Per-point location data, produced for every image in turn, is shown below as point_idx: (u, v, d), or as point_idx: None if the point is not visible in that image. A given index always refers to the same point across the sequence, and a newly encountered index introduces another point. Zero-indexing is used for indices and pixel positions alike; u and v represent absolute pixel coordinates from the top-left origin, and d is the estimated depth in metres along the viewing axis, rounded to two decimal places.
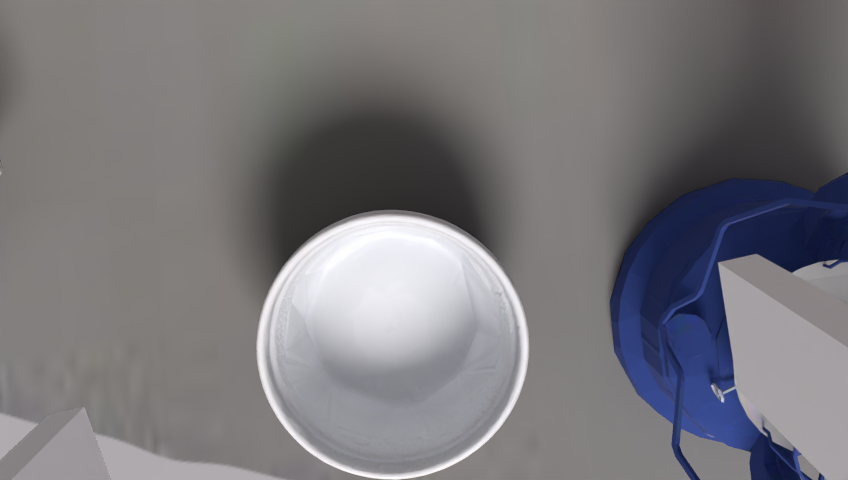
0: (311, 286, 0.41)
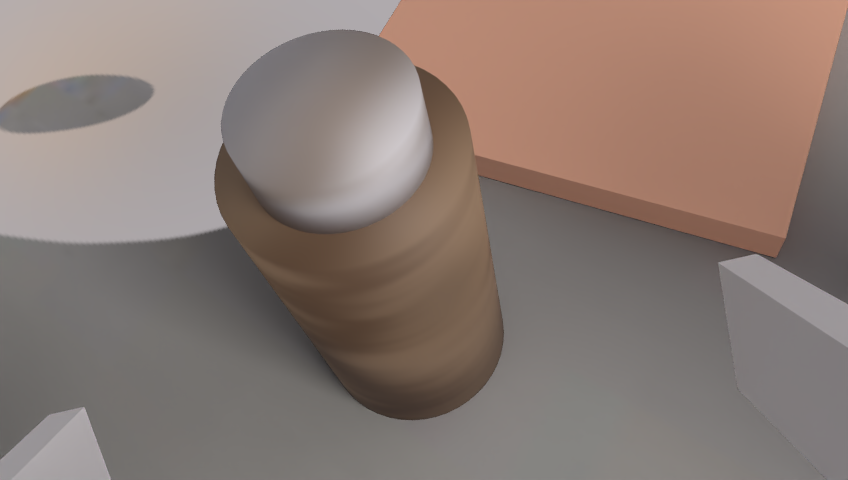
0: None
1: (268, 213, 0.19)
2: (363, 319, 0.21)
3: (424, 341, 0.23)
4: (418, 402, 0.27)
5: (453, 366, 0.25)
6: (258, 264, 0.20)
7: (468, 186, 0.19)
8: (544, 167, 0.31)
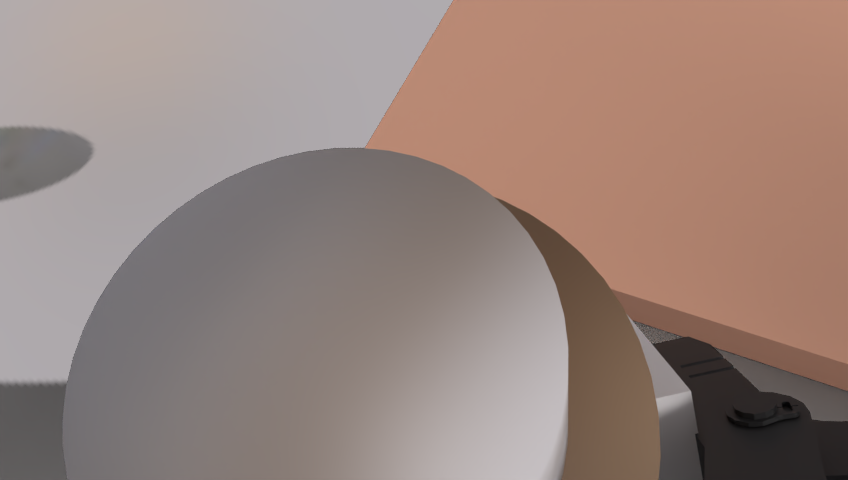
0: None
1: None
2: None
3: None
4: None
5: None
6: None
7: None
8: (664, 295, 0.20)
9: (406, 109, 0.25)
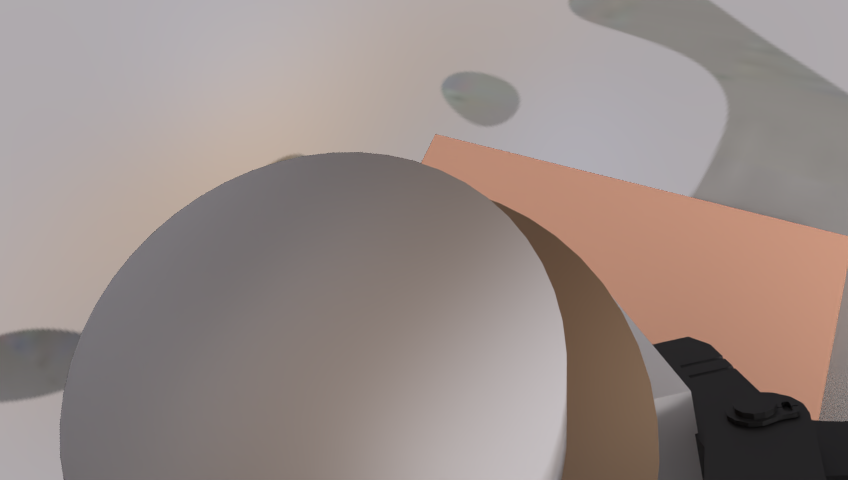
0: None
1: None
2: None
3: None
4: None
5: None
6: None
7: None
8: None
9: None
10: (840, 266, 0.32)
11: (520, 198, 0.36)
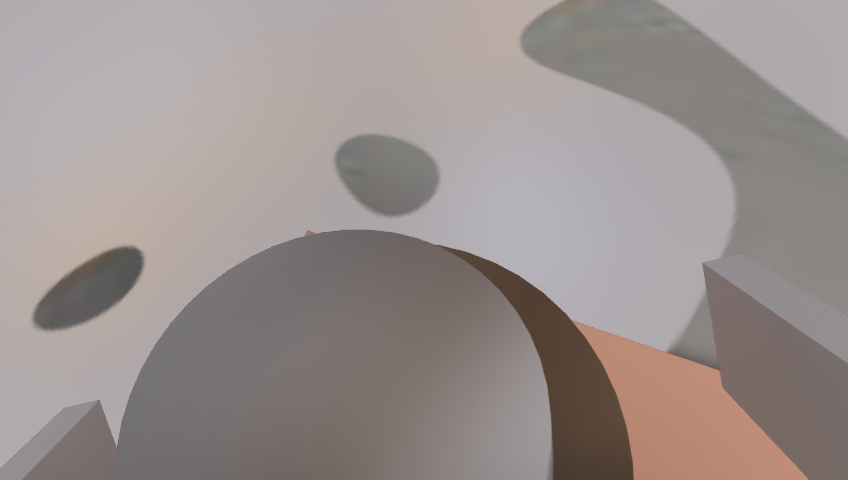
0: None
1: None
2: None
3: None
4: None
5: None
6: None
7: None
8: None
9: None
10: None
11: None
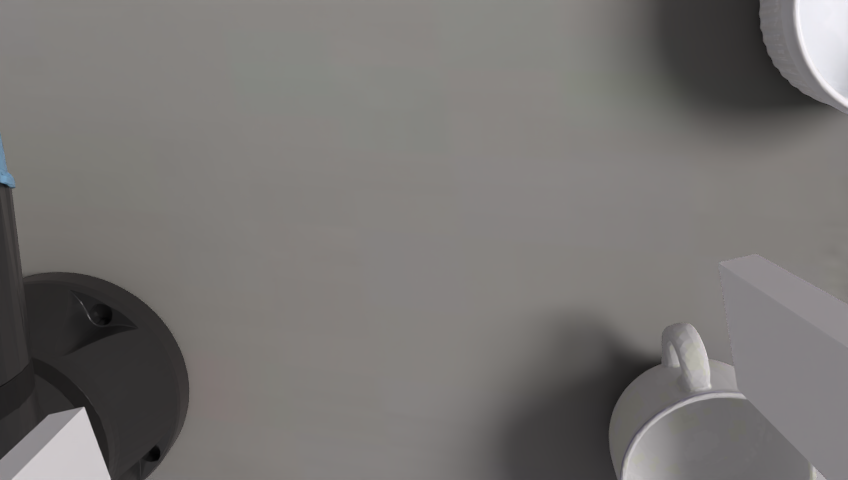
0: None
1: None
2: None
3: None
4: None
5: None
6: None
7: None
8: None
9: None
10: None
11: None
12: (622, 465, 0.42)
